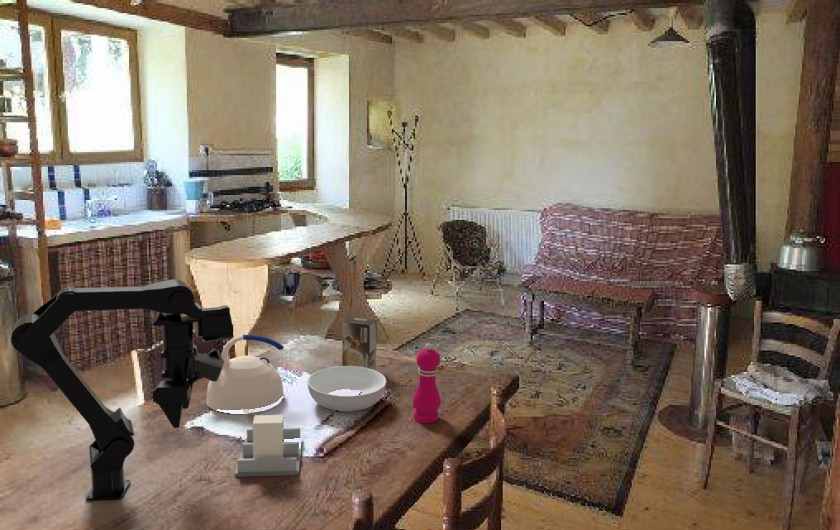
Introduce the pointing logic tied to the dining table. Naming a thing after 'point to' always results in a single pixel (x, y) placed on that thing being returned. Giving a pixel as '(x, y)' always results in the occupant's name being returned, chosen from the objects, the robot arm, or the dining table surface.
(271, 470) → the plate rack
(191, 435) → the dining table surface
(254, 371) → the kettle
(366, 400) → the serving bowl
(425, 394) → the pepper mill
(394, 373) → the dining table surface
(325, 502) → the dining table surface
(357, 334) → the coffee box
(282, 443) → the cream upright block
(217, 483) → the dining table surface
